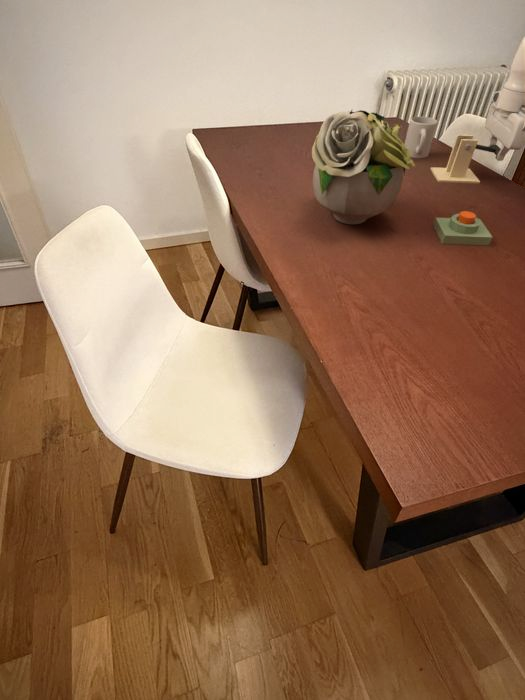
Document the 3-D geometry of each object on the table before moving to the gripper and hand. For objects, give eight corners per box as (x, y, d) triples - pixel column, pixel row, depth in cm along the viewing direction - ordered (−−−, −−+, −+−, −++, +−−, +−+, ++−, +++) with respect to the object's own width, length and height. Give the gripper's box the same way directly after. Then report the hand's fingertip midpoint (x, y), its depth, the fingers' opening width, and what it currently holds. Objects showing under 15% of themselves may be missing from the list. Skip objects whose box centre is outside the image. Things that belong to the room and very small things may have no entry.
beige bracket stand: (468, 173, 126) (483, 132, 118) (478, 186, 119) (495, 144, 110) (429, 172, 126) (441, 131, 118) (437, 185, 119) (451, 142, 111)
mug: (400, 150, 139) (409, 115, 132) (426, 152, 138) (436, 117, 131) (403, 163, 131) (412, 126, 123) (430, 165, 130) (441, 128, 122)
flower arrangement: (289, 230, 99) (296, 120, 81) (317, 190, 115) (328, 92, 98) (391, 250, 92) (422, 136, 75) (405, 206, 109) (433, 103, 92)
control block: (476, 227, 101) (483, 212, 98) (488, 245, 95) (496, 230, 92) (432, 225, 101) (437, 210, 99) (441, 243, 95) (447, 228, 92)
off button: (470, 218, 97) (473, 211, 95) (475, 225, 94) (478, 218, 93) (455, 217, 97) (458, 210, 96) (459, 224, 94) (462, 217, 93)
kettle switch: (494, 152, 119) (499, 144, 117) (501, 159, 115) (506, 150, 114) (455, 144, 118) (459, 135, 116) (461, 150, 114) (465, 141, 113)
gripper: (545, 112, 100) (519, 169, 110) (513, 92, 114) (493, 144, 124) (519, 111, 100) (496, 168, 110) (491, 91, 115) (472, 143, 124)
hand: (494, 155), depth 117 cm, fingers closed on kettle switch, 5 cm apart
